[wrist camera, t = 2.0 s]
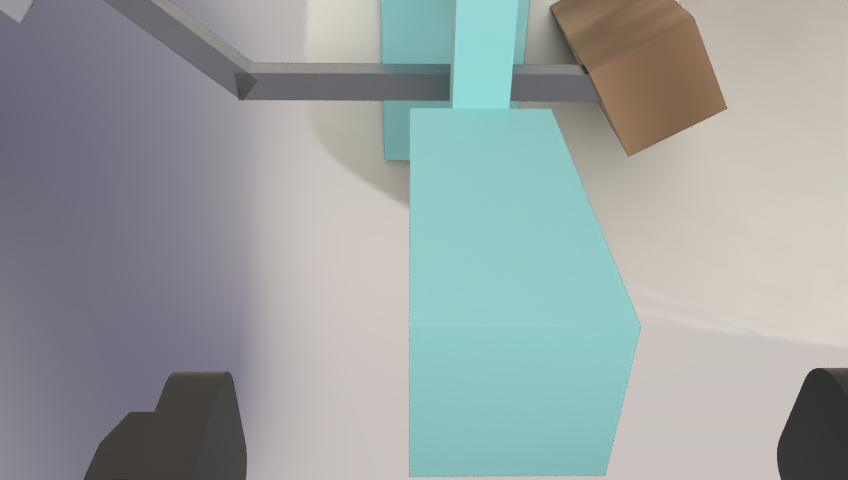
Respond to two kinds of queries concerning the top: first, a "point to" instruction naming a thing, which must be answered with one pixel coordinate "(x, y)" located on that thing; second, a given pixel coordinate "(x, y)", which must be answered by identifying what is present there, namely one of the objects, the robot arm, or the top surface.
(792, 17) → the top surface
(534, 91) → the wire
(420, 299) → the turquoise frame with handle
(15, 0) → the pad
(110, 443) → the robot arm
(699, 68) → the wood grain block
